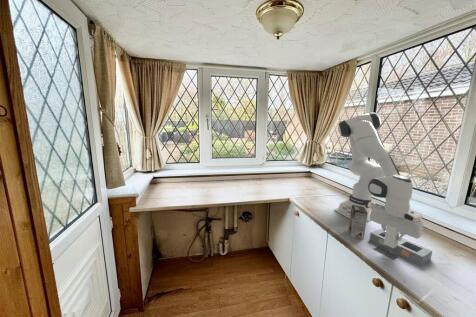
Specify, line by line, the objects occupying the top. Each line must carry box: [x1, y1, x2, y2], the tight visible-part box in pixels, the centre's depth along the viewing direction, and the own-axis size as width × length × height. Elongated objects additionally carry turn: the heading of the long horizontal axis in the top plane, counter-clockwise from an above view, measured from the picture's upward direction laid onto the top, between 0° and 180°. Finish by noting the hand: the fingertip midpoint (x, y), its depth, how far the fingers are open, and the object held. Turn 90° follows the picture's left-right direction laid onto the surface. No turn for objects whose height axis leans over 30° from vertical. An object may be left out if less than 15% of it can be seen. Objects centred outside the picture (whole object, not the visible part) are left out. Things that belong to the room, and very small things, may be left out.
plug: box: [384, 225, 401, 248], centre depth 95 cm, size 4×4×11 cm
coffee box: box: [348, 205, 368, 240], centre depth 112 cm, size 9×6×16 cm
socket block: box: [369, 228, 433, 267], centre depth 100 cm, size 22×10×5 cm, turn 28°
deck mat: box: [372, 246, 399, 261], centre depth 97 cm, size 9×5×1 cm, turn 28°
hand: (391, 237), depth 95 cm, fingers closed on plug, 4 cm apart
